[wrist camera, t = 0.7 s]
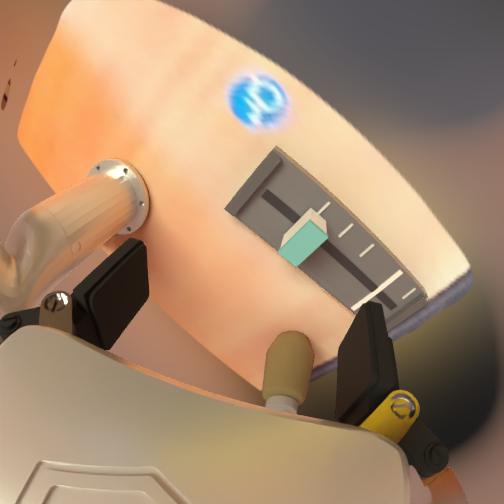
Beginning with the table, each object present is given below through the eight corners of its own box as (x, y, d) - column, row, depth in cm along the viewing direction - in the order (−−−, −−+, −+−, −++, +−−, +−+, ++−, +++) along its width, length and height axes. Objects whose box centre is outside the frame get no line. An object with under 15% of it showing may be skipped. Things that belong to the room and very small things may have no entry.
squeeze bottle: (286, 360, 51) (269, 445, 36) (260, 334, 49) (235, 424, 33) (324, 347, 47) (316, 439, 32) (300, 318, 45) (284, 416, 30)
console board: (376, 324, 42) (378, 337, 40) (229, 202, 38) (222, 211, 35) (424, 288, 37) (429, 301, 35) (276, 145, 33) (272, 149, 30)
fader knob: (298, 248, 36) (295, 267, 32) (282, 235, 36) (277, 252, 32) (327, 221, 33) (328, 237, 30) (310, 206, 33) (309, 221, 29)
